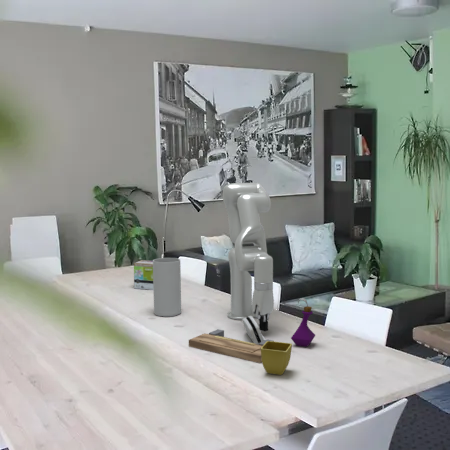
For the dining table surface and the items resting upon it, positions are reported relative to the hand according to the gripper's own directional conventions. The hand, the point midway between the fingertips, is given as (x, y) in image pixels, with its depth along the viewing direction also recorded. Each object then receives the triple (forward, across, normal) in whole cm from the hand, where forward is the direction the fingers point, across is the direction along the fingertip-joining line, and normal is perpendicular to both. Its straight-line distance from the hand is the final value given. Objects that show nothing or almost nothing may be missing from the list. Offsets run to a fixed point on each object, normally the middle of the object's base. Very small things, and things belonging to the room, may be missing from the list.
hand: (263, 330), depth 232 cm
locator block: (+1, +16, -12) cm, 20 cm away
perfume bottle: (+2, +4, +20) cm, 20 cm away
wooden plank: (+1, +24, +1) cm, 25 cm away
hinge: (+2, +8, +1) cm, 9 cm away
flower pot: (+2, +34, +26) cm, 42 cm away
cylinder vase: (+2, -2, -53) cm, 53 cm away
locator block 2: (+1, +17, +11) cm, 20 cm away
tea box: (+1, -37, -97) cm, 104 cm away
